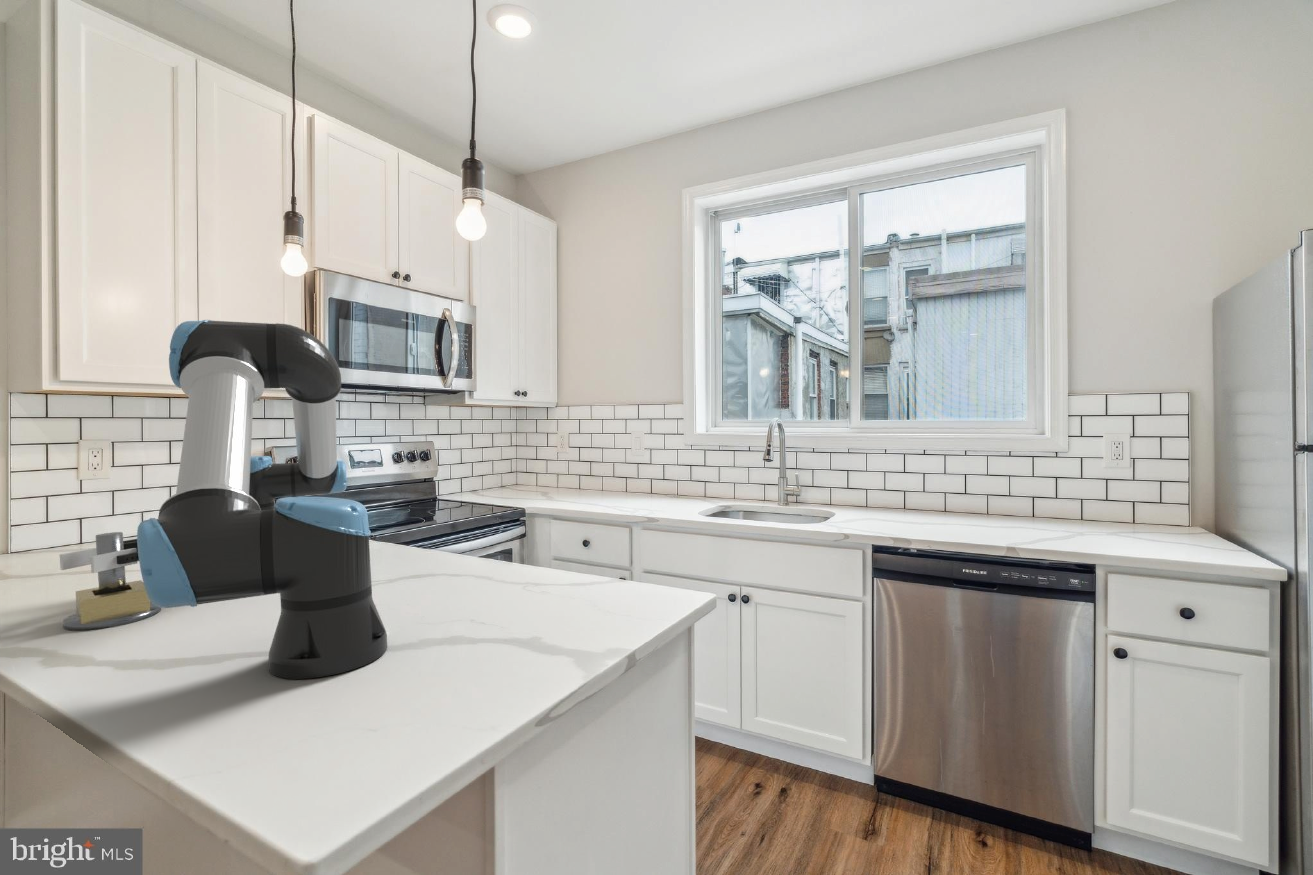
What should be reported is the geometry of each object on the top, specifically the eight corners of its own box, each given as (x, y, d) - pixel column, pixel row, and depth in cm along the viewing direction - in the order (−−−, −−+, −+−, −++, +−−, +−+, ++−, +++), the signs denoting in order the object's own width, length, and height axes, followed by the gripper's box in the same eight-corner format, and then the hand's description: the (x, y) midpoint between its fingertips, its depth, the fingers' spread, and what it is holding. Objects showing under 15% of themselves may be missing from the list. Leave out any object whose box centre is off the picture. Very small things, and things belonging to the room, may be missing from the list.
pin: (128, 611, 110) (124, 533, 109) (101, 616, 107) (96, 537, 106) (126, 607, 112) (121, 531, 111) (99, 612, 109) (94, 534, 109)
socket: (166, 615, 110) (165, 588, 110) (66, 636, 100) (64, 606, 100) (154, 601, 119) (152, 576, 118) (61, 619, 109) (59, 591, 109)
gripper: (248, 556, 123) (118, 589, 101) (177, 552, 129) (40, 581, 108) (246, 519, 123) (115, 544, 101) (175, 516, 129) (37, 539, 107)
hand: (76, 563), depth 104 cm, fingers open, 7 cm apart
